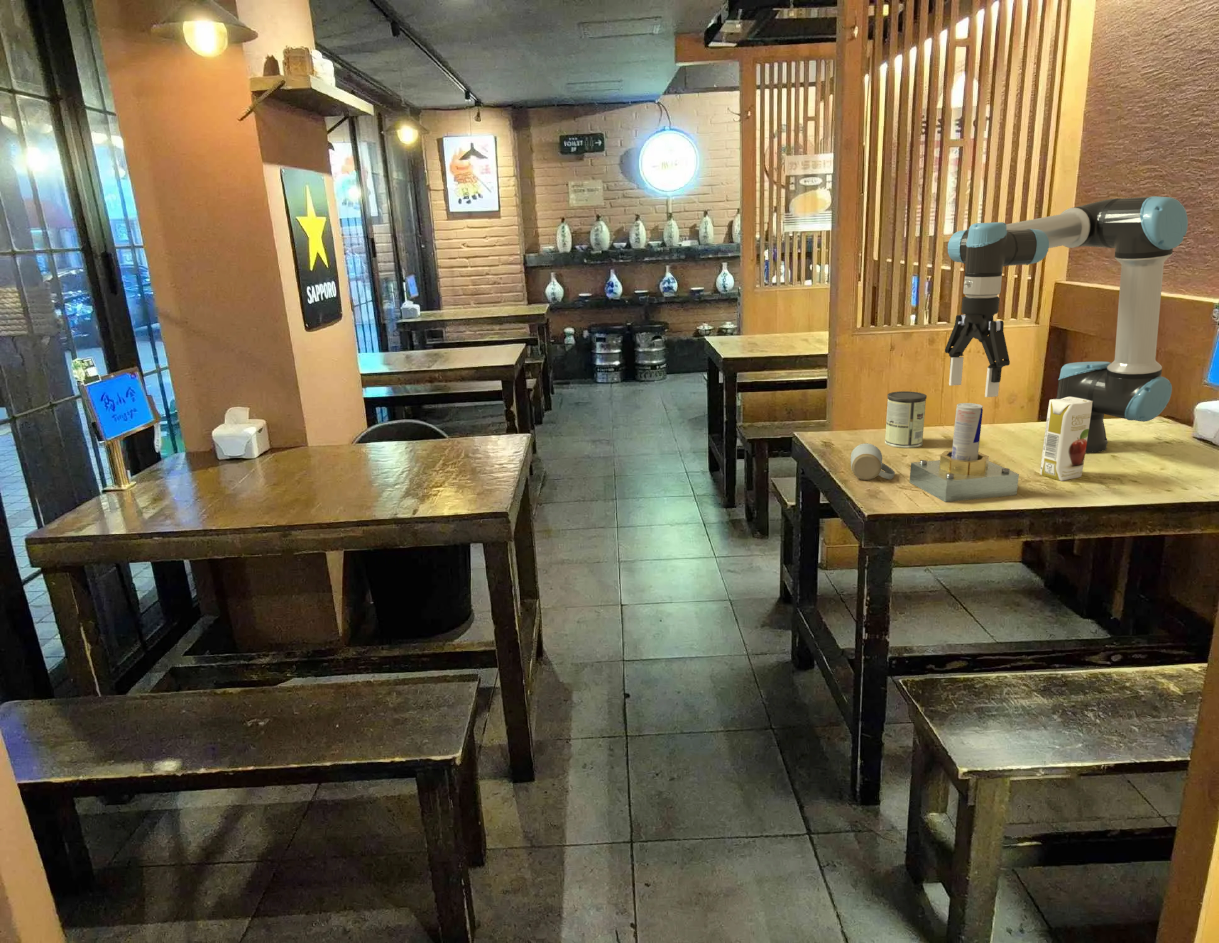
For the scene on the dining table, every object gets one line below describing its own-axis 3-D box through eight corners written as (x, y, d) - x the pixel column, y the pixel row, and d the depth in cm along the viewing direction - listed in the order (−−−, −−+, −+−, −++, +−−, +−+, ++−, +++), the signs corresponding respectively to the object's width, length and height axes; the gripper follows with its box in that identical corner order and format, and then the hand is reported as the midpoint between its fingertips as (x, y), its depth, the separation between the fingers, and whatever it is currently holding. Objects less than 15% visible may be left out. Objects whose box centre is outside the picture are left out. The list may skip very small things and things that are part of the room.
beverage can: (979, 471, 186) (985, 407, 182) (953, 470, 187) (959, 407, 183) (973, 464, 192) (980, 402, 187) (948, 463, 193) (954, 402, 188)
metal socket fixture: (976, 476, 200) (979, 444, 197) (1016, 494, 186) (1020, 461, 183) (909, 482, 197) (912, 450, 194) (945, 502, 182) (948, 468, 180)
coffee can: (889, 437, 237) (892, 389, 233) (926, 441, 231) (930, 392, 227) (879, 445, 229) (883, 396, 224) (917, 450, 223) (922, 399, 219)
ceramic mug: (850, 480, 199) (852, 450, 197) (849, 471, 207) (851, 442, 205) (895, 483, 197) (898, 453, 194) (893, 473, 204) (896, 444, 202)
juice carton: (1034, 474, 199) (1044, 399, 194) (1059, 469, 203) (1069, 395, 197) (1061, 482, 193) (1072, 404, 187) (1086, 477, 196) (1098, 400, 190)
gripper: (933, 292, 189) (927, 381, 195) (1002, 301, 166) (992, 403, 172) (962, 290, 190) (955, 379, 197) (1034, 299, 167) (1023, 400, 173)
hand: (972, 390), depth 184 cm, fingers open, 13 cm apart
